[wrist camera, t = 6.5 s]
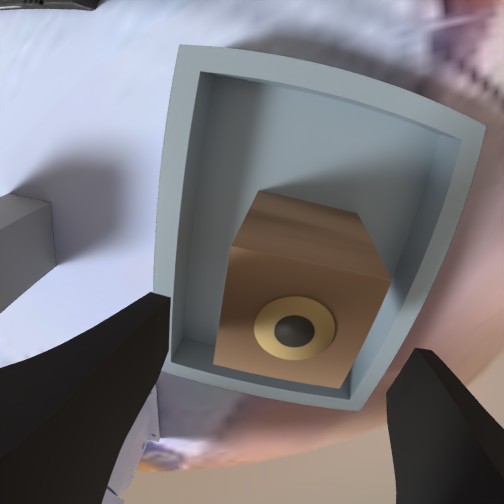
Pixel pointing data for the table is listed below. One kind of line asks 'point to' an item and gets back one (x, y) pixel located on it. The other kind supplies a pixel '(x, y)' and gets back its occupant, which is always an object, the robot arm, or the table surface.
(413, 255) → the tray
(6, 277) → the grey button block
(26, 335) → the table surface
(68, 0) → the disk drive
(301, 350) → the walnut block
